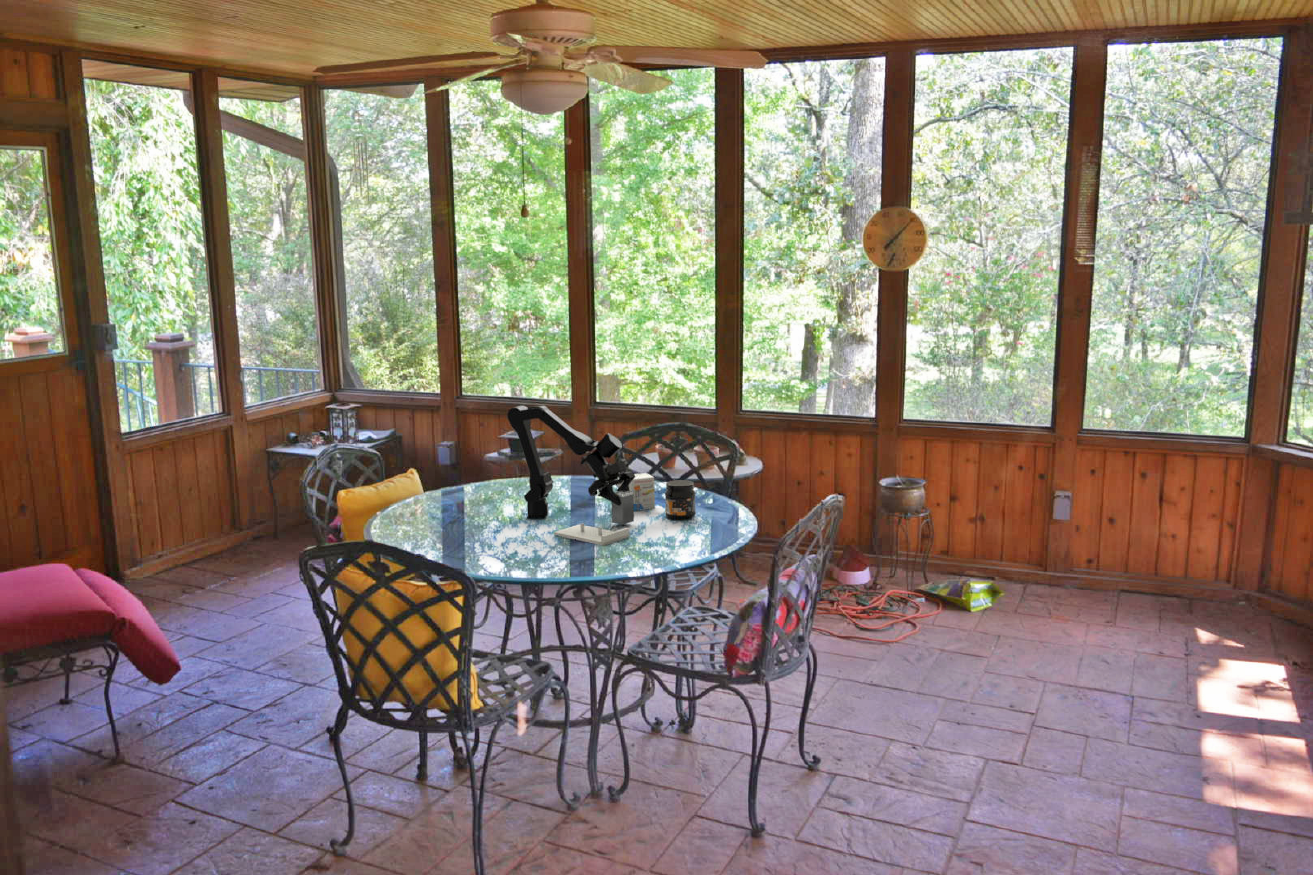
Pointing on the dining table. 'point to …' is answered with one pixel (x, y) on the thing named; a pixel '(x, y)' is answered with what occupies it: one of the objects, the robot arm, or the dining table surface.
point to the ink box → (643, 491)
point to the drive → (623, 508)
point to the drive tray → (593, 534)
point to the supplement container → (680, 500)
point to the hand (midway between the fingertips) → (625, 503)
